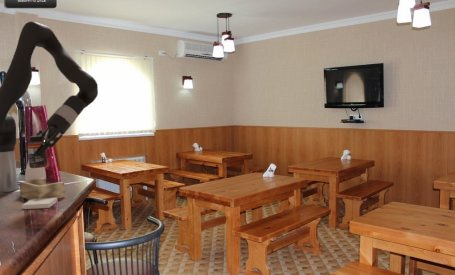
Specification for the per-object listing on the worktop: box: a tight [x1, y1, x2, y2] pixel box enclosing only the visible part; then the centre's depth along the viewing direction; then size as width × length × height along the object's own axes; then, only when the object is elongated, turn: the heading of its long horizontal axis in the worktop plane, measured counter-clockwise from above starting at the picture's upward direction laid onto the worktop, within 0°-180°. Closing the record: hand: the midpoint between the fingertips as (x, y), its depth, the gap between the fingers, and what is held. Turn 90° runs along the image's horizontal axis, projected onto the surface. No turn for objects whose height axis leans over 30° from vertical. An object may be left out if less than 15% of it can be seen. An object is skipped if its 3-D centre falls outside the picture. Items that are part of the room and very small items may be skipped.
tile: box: [21, 198, 59, 210], centre depth 137 cm, size 9×9×2 cm
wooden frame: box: [19, 177, 66, 200], centre depth 150 cm, size 10×16×6 cm, turn 52°
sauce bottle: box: [24, 160, 47, 181], centre depth 162 cm, size 8×8×18 cm
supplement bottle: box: [27, 135, 49, 168], centre depth 136 cm, size 6×6×11 cm
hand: (32, 154), depth 135 cm, fingers closed on supplement bottle, 6 cm apart
